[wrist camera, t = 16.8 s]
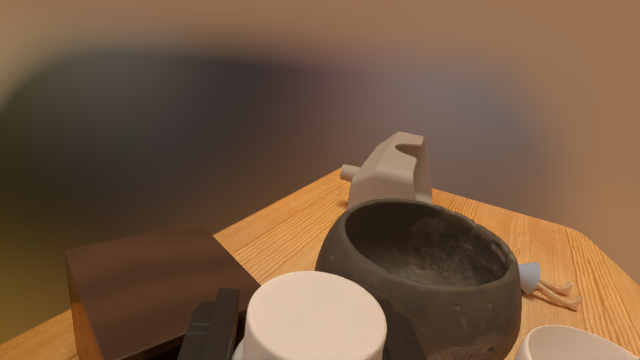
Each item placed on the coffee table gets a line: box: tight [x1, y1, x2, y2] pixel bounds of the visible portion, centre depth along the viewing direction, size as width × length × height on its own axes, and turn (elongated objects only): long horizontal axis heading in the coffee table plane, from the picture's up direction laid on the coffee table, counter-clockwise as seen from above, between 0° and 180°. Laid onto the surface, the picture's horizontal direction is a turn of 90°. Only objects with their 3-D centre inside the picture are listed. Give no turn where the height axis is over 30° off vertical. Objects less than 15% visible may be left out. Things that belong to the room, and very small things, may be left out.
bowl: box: [315, 198, 522, 360], centre depth 35 cm, size 18×18×13 cm
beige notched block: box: [340, 132, 433, 211], centre depth 62 cm, size 25×16×12 cm, turn 162°
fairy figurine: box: [518, 262, 582, 310], centre depth 48 cm, size 12×5×12 cm
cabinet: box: [64, 222, 261, 360], centre depth 29 cm, size 13×11×10 cm
